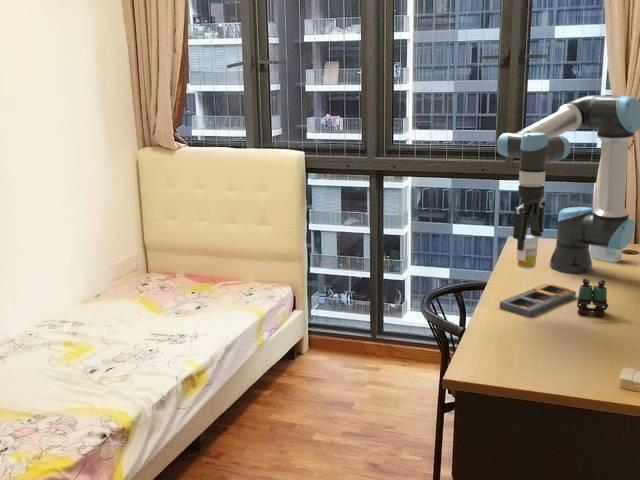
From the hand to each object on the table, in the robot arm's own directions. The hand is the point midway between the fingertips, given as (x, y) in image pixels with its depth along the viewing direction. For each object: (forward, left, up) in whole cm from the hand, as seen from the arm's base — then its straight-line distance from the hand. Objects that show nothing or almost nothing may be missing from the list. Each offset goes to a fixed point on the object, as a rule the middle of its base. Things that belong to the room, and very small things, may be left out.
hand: (526, 257), depth 209 cm
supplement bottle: (0, 0, -3) cm, 3 cm away
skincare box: (-73, -10, -17) cm, 75 cm away
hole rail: (-9, 0, -17) cm, 19 cm away
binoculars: (-12, +17, -17) cm, 27 cm away
